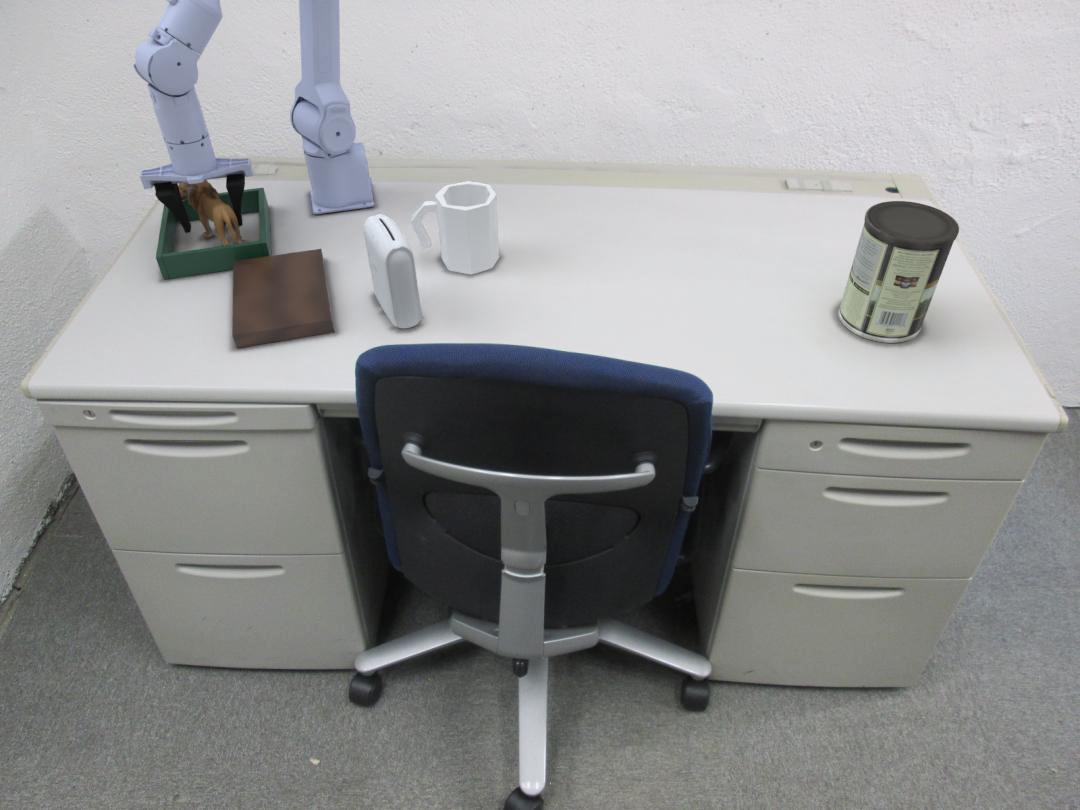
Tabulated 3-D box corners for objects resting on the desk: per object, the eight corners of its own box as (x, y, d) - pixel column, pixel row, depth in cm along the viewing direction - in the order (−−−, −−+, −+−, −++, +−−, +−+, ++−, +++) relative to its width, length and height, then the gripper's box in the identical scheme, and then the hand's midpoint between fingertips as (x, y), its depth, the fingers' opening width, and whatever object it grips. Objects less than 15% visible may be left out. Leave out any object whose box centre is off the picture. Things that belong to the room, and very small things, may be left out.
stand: (323, 260, 113) (321, 248, 111) (334, 332, 100) (331, 319, 98) (237, 273, 110) (233, 261, 109) (236, 348, 97) (232, 335, 96)
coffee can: (888, 291, 106) (922, 194, 97) (938, 335, 98) (979, 235, 89) (821, 304, 104) (848, 206, 94) (866, 350, 96) (901, 248, 87)
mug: (499, 242, 116) (496, 180, 110) (499, 274, 110) (496, 209, 103) (417, 244, 116) (410, 182, 109) (413, 276, 110) (404, 212, 103)
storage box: (268, 207, 125) (263, 187, 123) (272, 263, 112) (266, 242, 110) (171, 220, 122) (164, 199, 120) (163, 279, 109) (155, 257, 107)
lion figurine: (180, 231, 119) (163, 174, 113) (212, 219, 122) (197, 163, 116) (236, 264, 112) (221, 205, 106) (268, 251, 115) (255, 193, 109)
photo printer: (370, 293, 106) (356, 209, 98) (401, 285, 108) (389, 202, 100) (394, 333, 99) (380, 247, 91) (426, 324, 101) (415, 239, 93)
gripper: (125, 154, 102) (159, 246, 111) (242, 141, 105) (265, 232, 114) (131, 133, 107) (163, 223, 116) (242, 121, 110) (264, 210, 119)
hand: (214, 226), depth 115 cm, fingers closed on lion figurine, 6 cm apart
